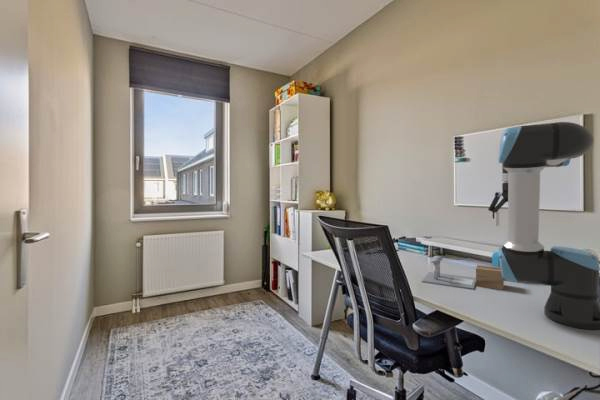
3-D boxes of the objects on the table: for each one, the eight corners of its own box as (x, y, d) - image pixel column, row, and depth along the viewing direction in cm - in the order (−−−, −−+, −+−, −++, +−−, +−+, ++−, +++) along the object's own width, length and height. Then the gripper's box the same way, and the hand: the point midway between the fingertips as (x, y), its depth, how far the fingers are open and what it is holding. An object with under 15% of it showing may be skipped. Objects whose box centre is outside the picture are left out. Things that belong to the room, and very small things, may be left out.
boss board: (473, 289, 129) (473, 266, 128) (422, 282, 141) (421, 261, 140) (476, 279, 142) (476, 258, 142) (429, 273, 154) (429, 253, 154)
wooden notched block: (503, 290, 128) (503, 271, 127) (476, 286, 133) (476, 268, 133) (503, 285, 133) (503, 267, 133) (477, 281, 139) (477, 264, 139)
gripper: (547, 181, 132) (547, 229, 133) (489, 182, 154) (489, 223, 155) (539, 181, 128) (538, 230, 129) (480, 182, 150) (480, 225, 151)
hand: (511, 227), depth 142 cm, fingers open, 13 cm apart
